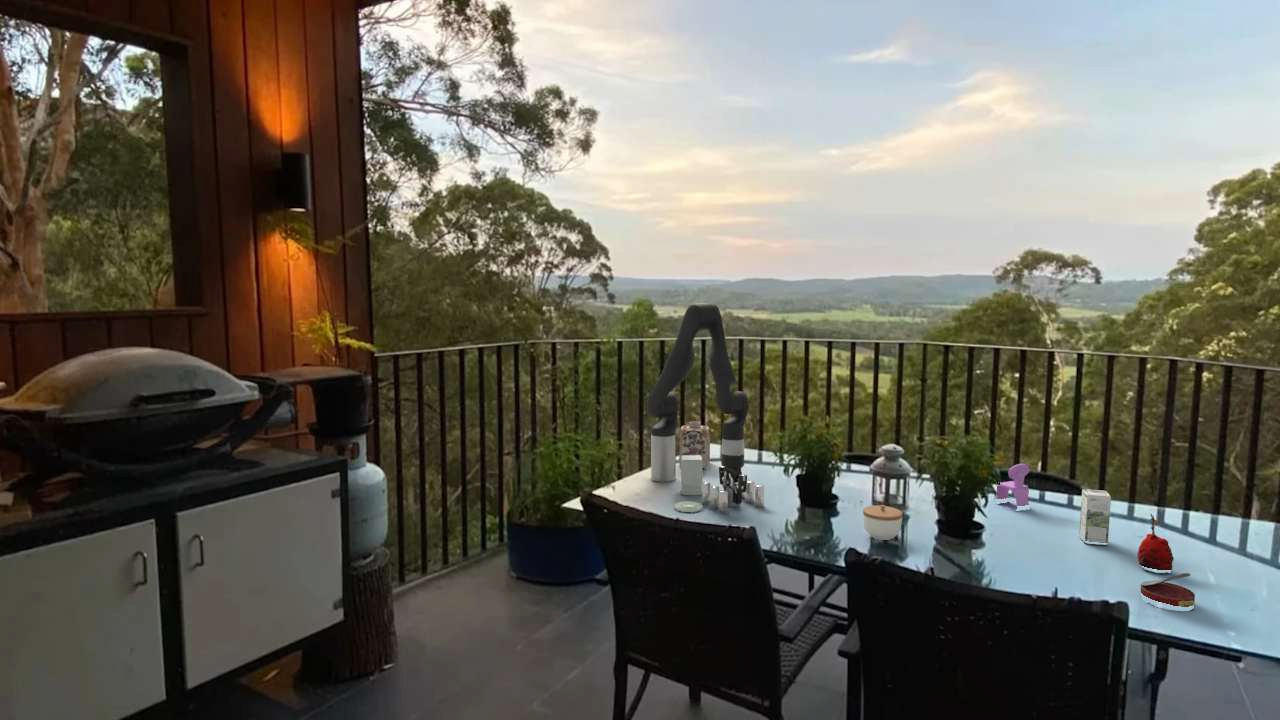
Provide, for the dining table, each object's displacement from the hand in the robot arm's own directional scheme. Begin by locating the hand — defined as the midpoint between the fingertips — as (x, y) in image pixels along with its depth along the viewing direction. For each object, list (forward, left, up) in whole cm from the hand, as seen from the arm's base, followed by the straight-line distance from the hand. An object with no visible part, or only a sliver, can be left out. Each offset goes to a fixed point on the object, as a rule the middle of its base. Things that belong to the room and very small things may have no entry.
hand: (732, 501), depth 233 cm
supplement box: (-19, -5, -2) cm, 20 cm away
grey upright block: (0, 0, -1) cm, 1 cm away
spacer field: (0, 0, -1) cm, 1 cm away
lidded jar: (+45, +22, -2) cm, 50 cm away
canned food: (+105, +49, -2) cm, 116 cm away
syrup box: (+74, +72, -2) cm, 103 cm away
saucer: (-3, -15, -1) cm, 15 cm away
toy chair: (+42, +81, -2) cm, 91 cm away
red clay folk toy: (+93, +66, -2) cm, 114 cm away
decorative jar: (-52, +15, -2) cm, 54 cm away
